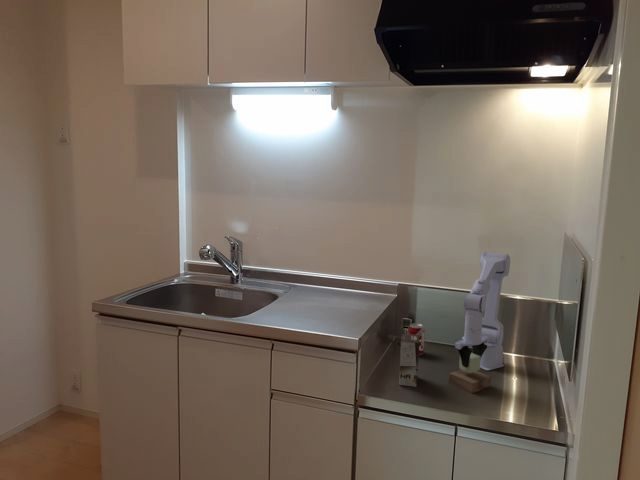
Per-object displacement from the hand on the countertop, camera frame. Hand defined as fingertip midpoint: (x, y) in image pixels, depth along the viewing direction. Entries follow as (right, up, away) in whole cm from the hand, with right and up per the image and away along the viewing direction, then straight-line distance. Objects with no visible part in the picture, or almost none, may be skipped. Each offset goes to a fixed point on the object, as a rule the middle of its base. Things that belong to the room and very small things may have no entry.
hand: (470, 364), depth 186 cm
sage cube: (0, -2, +1) cm, 2 cm away
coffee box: (-21, -7, +3) cm, 23 cm away
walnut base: (0, -8, +1) cm, 8 cm away
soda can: (-14, -3, +30) cm, 33 cm away
